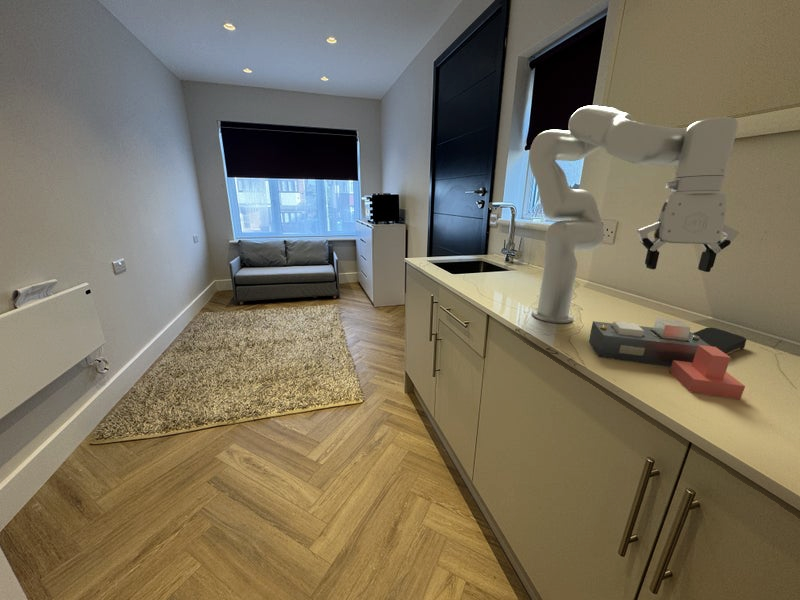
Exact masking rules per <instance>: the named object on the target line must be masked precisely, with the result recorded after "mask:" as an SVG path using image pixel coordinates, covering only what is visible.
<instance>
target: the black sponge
mask: <svg viewBox="0 0 800 600" xmlns="http://www.w3.org/2000/svg"><path fill="white" fill-rule="evenodd" d="M692 333H693V334H694V335H696V336H699V338H700V339H701V340H703V341H704V342H706V343H707V344H709V345H710V346H712V347H716V348H718V349H719V350H721V351H722V352H724V353H725V354H727V355H728V356H729V355H730V354H732V353H734V352H736V351H742V350H744V348H745V347H746V344H747V343H746V342H747V338H746V337H744V336H742V335H738V334H736V333H732V332H729V331H726V330H724V329H719V328H716V327H706V328H702V329H700V330H698V331H695V332H692Z"/></svg>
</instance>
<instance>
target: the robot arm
mask: <svg viewBox="0 0 800 600" xmlns="http://www.w3.org/2000/svg"><path fill="white" fill-rule="evenodd" d="M567 126H568V130H562V129H549V130H544V131H542V132H540V133H539V134H537V136H536V137H534V139H533V141H532V144H531V145H530V150H529V156H528V157H529V165H530V166H529V167H530V170H531V172H532V174H533V177H534V179H535V182H536V185H537V189H538V194H539V197H540V201H541V205H542V209H543V213H544V215H545V217H546V218H547V219H549V220H556V221H555V222H553V223H552V224H550V225H549V226H548V228H547V230H546V232H545V235H544V245H545V249H544V251H545V253H544V254H545V255H544V256H545V257H544V263H543V272H542V278H541V279H542V280H541V285H540V292H539V299H538V303H537V304H538V305H537V307H536V308H533V309H532V311H531V314H532V316H533V317H534V318H536V319H538V320H541V321H544V322H547V323H555V324H567V323H571V322H573V320H574V315H573V314H572V313H570V309H571V303H572V299H573V298H572V296H573V292H574V286H575V281H576V278H577V277H576V275H577V270H578V262H577V258H576V256H575V252H581V251H582V252H583V251H587V252H588V251H592V250H596V249H597V248H599V246H600V245H601V244H602V242H603V241H604V238H605V233H604V226H603V222H602V218H601V215H600V211H599V207H598V204H597V200H596V198H595V197H594V195H593V194H592V193H591V192H590V191H588V190H586V189H579V188H578V189H575V188H571V187H570V185H569V183H568V180H567V176H566V173H565V170H563V168H562V167H561V166H560V165H559V164H558V163H557V161H566V162H576V161H580V160H582V159H584V158H586V157H588V156H590V155H591V154H592V153H594V152H595V151H597V150H599V149H603V150H604V151H605V152H606V153H607V154H609V155H610V156H612V157H615V158H617V159H620V160H622V161H625V162H629V163H631V164H635V165H641V166H642V165H645V166H647V165H648V166H659V167H660V166H661V167H663V166H664V167H674V166H677V168H676V173H675V178H673V180H671V181H667V182H666V183H665V189H669V190H670V193H671V194H667V196H666V198H665V201H664V202H663V204H662V207H661V210H660V212H659V214H658V218H657V221H656V222H655V223H651V224H649V225H647V226H644V227H642V228H639V229H637V231H636V232H637V236H638V239H639V242H640V243H641V244H642V246H643V247H644V248H645V250H647V252H646V256H645V261H644V265H646V266H645V267H646V268H647V269H650V270H656V269H657V265H658V260H659V258H660V256H659V255H660V251H658V250H659V249H660V248H661V247H662V246H664V244H666V243H669V244H692V245H693V244H694V245H697V244H698V245H702V246H703V248H704V249H705V250H704V251H702V252H701V255H700V258H699V263H698V267H697V269H698V270H699V271H702V272H705V273H710V272H711V270H712V268H713V267H714V265H715V261H716V259H717V258H716V257H717V254H719V253H721V252H722V250H723V249H725V248H727V247H728V246H730V245H731V242H733V241H734V240H735V239H736V238H737V237H738V235H739V234H740V232H739V231H738V230H737V229H734V228H731V227H730V226H728V225H726V224H725V219H726V210H727V209H726V208H727V193H721V192H722V189H723V184H724V182H725V181H724V180H725V177H726V174H727V169H728V165H729V162H730V157H731V155H732V151H733V147H734V144H735V139H736V136H737V131H738V127H739V122H738V120H737V119H736V118H734V117H729V116H721V117H712V118H710V117H709V118H706V119H701V120H698V121H695V122H693V123H691V124H689V126H688V127H686V128H683V127H675V126H674V127H673V126H664V125H653V124H647V123H644V122H638V121H636V120H635V119H634V117H633V115H632V114H630V113H628V112H624V111H621V110H620V109H618V108H615V107H608V106H601V105H600V106H599V105H586V106H583V107H580V108H578V109H577V110H576V111H575V112H573V114H572V115H571V116H570V117H569V120H568V125H567ZM651 232H654V233H653V238H654V239H653V240H650V238H649V236H648V234H649V233H651ZM722 235H724V236H723V237H722ZM721 237H722V238H721Z"/></svg>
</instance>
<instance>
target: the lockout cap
mask: <svg viewBox="0 0 800 600" xmlns="http://www.w3.org/2000/svg"><path fill="white" fill-rule="evenodd" d="M731 359H732V357H731V356H730V355H729V354H728V355H727V354H725V353H724V352H722V351H721V350H719V349H718V348H716V347H712V346H703V345H698V348H697V351H696V354H695V357H694V360H693V363H692V362H684V361H676V360H673V362H672V366H671V367H670V369H669V373H671V375H672V376H673V377H674V378H675V380H676V381H678V382H679V383H680V384H681V385H682V386H683V387H684V388H685V389H686V390H687V391H688V392H689V393H694V394H695V393H696V394H701V395H702V394H703V395H709V396H715V397H723V398H728V399H734V400H741V398H742V396H743V393H744V391H745V389H746V386H745V385H744V384H743V383H742V382H740V381H739V380H738V379H736V378H735V377H734V376H732V375H731V374H730V373H728V372H727V369H728V367H729V365H730V361H731Z"/></svg>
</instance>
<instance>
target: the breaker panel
mask: <svg viewBox="0 0 800 600" xmlns="http://www.w3.org/2000/svg"><path fill="white" fill-rule="evenodd" d="M612 326H613V322H604V321H602V322H601V321H595V320H593V321H592V325H591V329H590V334H589V337H588V343H589V345H590V346H591V347H592V349H593V350H594V352H595V354H596V355H597V357H598V358H601V359H607V360H616V361H624V362H632V363H637V364H638V363H639V364H647V365H653V366H654V365H655V366H661V367H670V368H671V366H672V362H673V360H676V361H684V362H692V363H693V360H694V357H695V354H696V351H697V348H698V345H703V346H710V345H709V344H707V343H706V342H704V341H703V340H701V339H700V338H699V336H696V335H694V334H693V333H694V332H692V331H691V328H692V327H691V326H689V325H688V324H686V323H685V322H683V321H682V320H680V319H673V318H663V317H662V318H661V317H656V318H655V320H654V323H653V327H652V326H651V327H650V326H642V325H641V326H640V325H638V326H639V327H640V328H642V329H643V330H644V332H643V336H642V337H638V336H629V335H621V334H617V333H616V332H615V331H614V330H613V329H612Z"/></svg>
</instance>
